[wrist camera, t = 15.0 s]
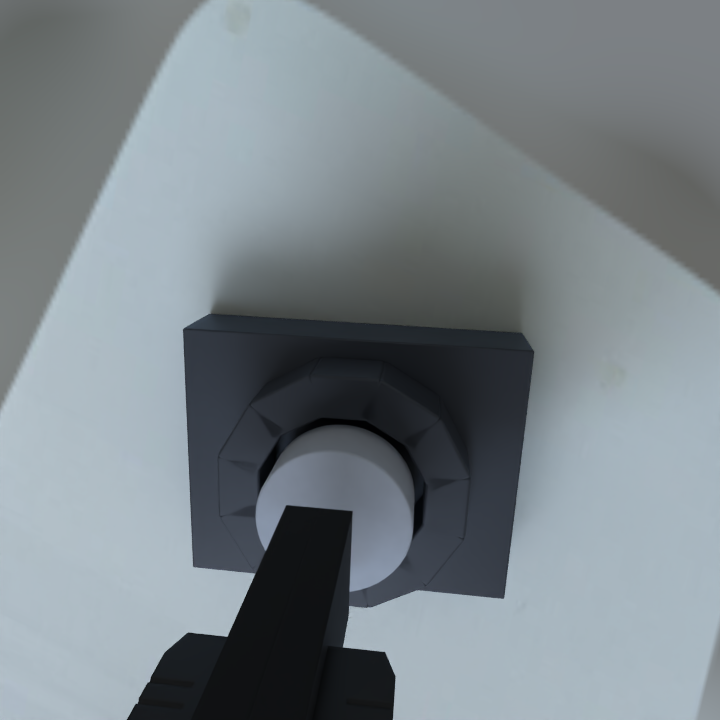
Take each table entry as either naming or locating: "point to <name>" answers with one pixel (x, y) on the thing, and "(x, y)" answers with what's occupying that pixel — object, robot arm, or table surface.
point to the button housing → (368, 411)
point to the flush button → (346, 494)
